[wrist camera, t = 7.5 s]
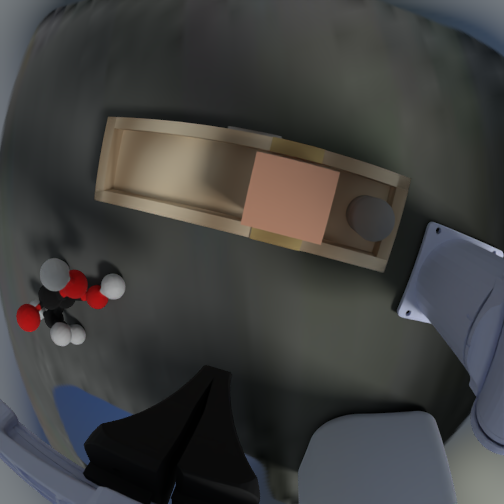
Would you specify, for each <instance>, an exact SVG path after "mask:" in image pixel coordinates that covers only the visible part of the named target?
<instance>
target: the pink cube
mask: <svg viewBox="0 0 504 504" xmlns="http://www.w3.org/2000/svg"><path fill="white" fill-rule="evenodd" d="M339 174H340V172H337V171H333V170H330V169H326V168H323V167H319V166H315V165H312V164H308V163H304V162H300V161H296V160H292V159H288V158H284V157H280V156H275V155H271V154H266V153H262V152H257V153H256V157H255V162H254V166H253V170H252V175H251V179H250V184H249V188H248V192H247V197H246V201H245V206H244V210H243V215H242V219H241V225H245V226H249V227H253V228H257V229H261V230H265V231H269V232H273V233H277V234H280V235H284V236H288V237H292V238H296V239H300V240H304V241H307V242H311V243H315V244H319V245H321V243H322V239H323V235H324V232H325V228H326V225H327V221H328V217H329V214H330V210H331V206H332V202H333V198H334V195H335V191H336V187H337V183H338V179H339Z"/></svg>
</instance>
